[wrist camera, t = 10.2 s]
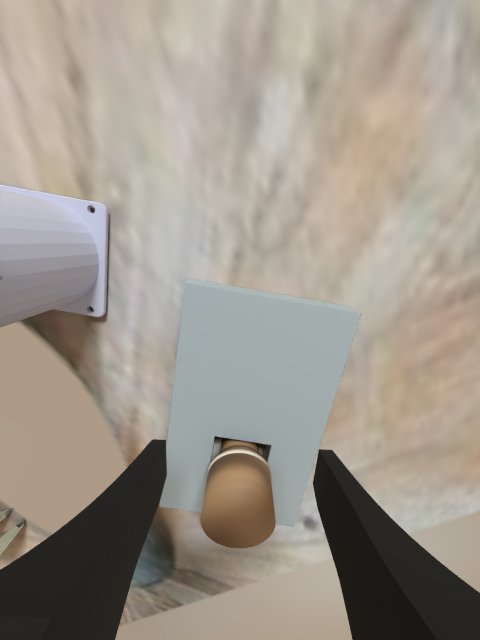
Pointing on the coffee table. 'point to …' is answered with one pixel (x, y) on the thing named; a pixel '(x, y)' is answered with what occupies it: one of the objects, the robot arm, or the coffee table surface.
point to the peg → (238, 496)
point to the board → (253, 386)
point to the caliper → (4, 541)
